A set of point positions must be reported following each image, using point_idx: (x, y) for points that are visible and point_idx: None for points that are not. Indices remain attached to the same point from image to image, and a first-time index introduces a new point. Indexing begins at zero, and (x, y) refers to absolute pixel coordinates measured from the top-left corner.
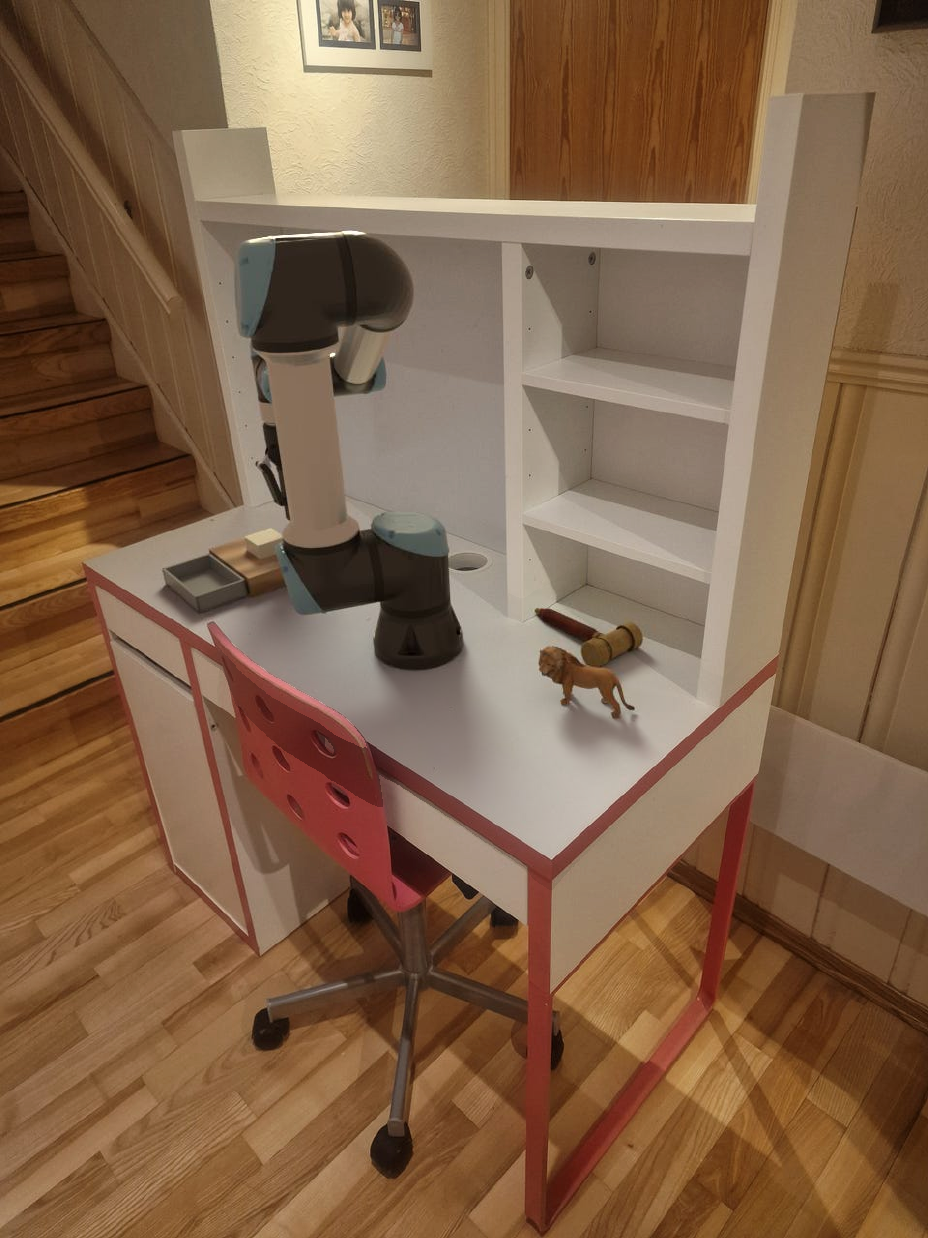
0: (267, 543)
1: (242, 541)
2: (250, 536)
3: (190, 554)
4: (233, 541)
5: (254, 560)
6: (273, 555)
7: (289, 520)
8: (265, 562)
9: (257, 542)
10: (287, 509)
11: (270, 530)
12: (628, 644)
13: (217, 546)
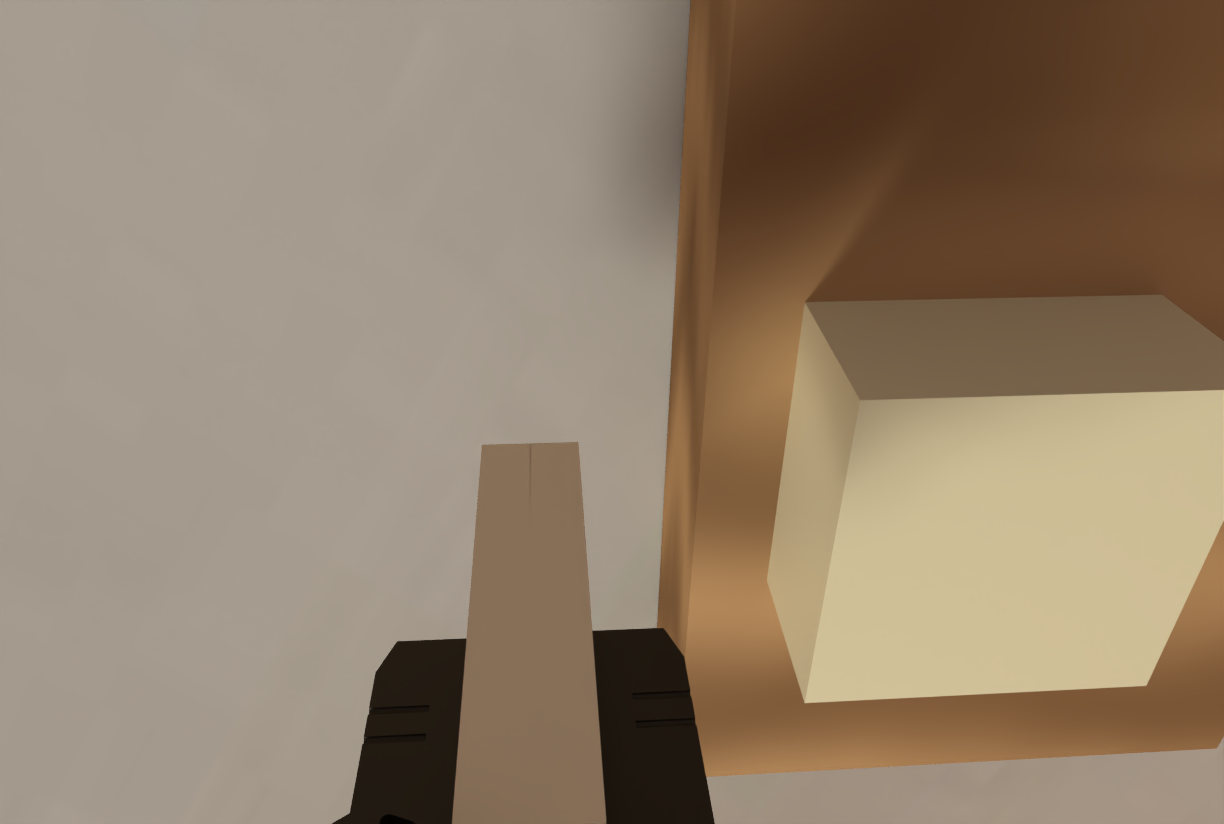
0: (1135, 386)
1: (952, 721)
2: (1109, 651)
3: (1066, 820)
4: (997, 755)
5: (1210, 319)
6: (999, 291)
7: (667, 655)
8: (1193, 184)
9: (1200, 476)
10: (709, 818)
11: (854, 656)
12: None
13: (1143, 748)
